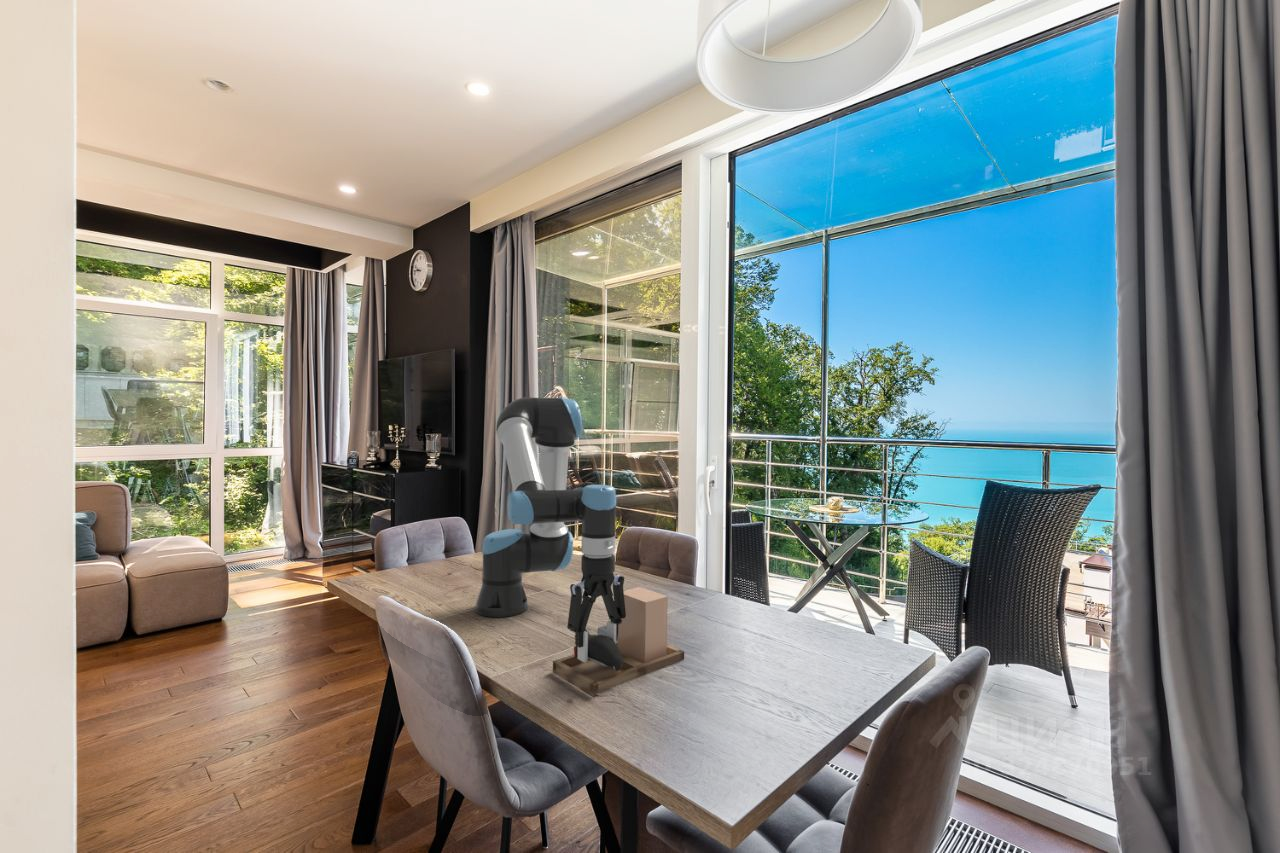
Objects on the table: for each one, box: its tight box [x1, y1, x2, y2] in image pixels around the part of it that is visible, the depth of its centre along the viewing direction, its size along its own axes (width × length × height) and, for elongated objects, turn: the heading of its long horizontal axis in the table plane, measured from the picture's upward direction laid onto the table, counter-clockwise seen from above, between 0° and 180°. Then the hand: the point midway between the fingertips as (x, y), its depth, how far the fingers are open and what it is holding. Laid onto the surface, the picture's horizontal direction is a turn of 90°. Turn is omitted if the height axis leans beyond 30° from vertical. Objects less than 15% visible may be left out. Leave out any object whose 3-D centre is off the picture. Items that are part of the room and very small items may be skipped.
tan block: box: [618, 586, 669, 664], centre depth 139 cm, size 10×7×15 cm
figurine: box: [573, 628, 623, 676], centre depth 130 cm, size 7×10×15 cm
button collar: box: [597, 625, 618, 641], centre depth 151 cm, size 7×7×3 cm
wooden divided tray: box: [552, 641, 685, 698], centre depth 135 cm, size 15×27×3 cm, turn 132°
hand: (597, 655), depth 130 cm, fingers closed on figurine, 7 cm apart
